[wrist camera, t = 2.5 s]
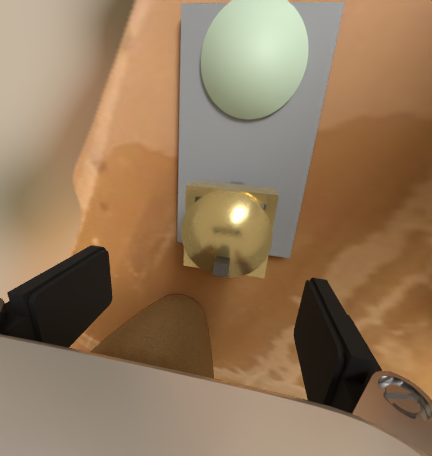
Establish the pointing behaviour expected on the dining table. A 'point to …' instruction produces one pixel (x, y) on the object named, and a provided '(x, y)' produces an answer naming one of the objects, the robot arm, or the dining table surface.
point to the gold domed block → (228, 228)
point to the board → (254, 98)
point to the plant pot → (164, 337)
